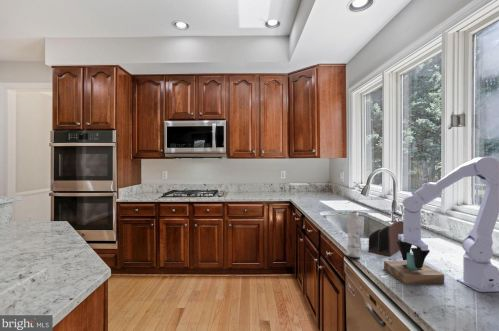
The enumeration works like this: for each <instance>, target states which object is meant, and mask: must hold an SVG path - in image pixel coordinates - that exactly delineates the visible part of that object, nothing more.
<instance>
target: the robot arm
mask: <svg viewBox="0 0 499 331" xmlns="http://www.w3.org/2000/svg"><path fill="white" fill-rule="evenodd" d="M469 177H470V178H471V177H478V178H480V180H481V181H482V182H483V183H484V184H485V186H486V187H485V190H484V194H483V197H482V200H481V202H480V206H479V209H478V211H477V214H476V218H475V221H474V224H473V228H472V229H471V230H470V231H469V232H468V234H467V236H466V237H465V238H464V239H463V240H462V243H461V248H462V249H463V251H464V254H463V258H462V260H463V263H462V264H463V265H462V266H463V269H462V270H463V274H462V276H463V277H462V278H461V277H460V278H456V281H458V282H460V283H461V284H464V285H465V286H468V287H469V288H471V289H473V290H474V291H476V292H479V293H487V292H488V293H491V292H493V293H494V292H499V268H498V267H497V266H495V265H493V264H492V262H491V260H492V259H493V255H494V252H493V243H494V242H493V236H492V235H493V231H494V229H495V227H496V224H497V220H498V218H499V160H498V159H497V158H495V157H493V156H484V157H482V156H481V157H480V156H477V157H473V158H472V159H471V160H470V161H467V162H464V163H463V164H461V165H459V166H457V167H456V168H454V169H453V170H452V171H449V173H448V174H446V175H445V176H443V177H442V178H440V179H439V180H437V181H436V182H430V181H429V182H427V183H426V182H424V183H423V184H422V186H421V187H420V188H418V189H417V190H415V191H411V192H410V193H411V194H409V195H406V196H405V197H404V198H403V200H402V202H401V203H402V206H403V207H404V208H403V219H402V221H403V234H398V239H399V240H400V241H396V243H397V244H398V246H399V248H400V250H399V252H400V254H401V258H402V261H407V253H413V255H414V261H415V267H416V268H422V266H423V263H424V264H425V260H426V258H427V257H428V254H430V249H429V246H428V244H427V243H425V242H424V241H423V240H422V216H421V210H422V209H423V206H426V205H428V204H429V203H431V202H433V201H434V200H436V199H438V198H439V197H441V196H442V194H443V190H446V189H447V188H448V187H450V186H451V185H453V184H455V183H457V182H458V181H460V180H462V179H465V178H469ZM412 246H414V247H412Z"/></svg>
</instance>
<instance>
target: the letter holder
mask: <svg viewBox="0 0 499 331" xmlns="http://www.w3.org/2000/svg"><path fill="white" fill-rule="evenodd" d="M398 234H403V220H399V221H395V222H392V224H389V225H386V226H385V227H383V228H380V229H377V230H375V231H373V232H371V233H370V234H369V236H368V252H369V253H373V254H377V255H381V256H386V257H392V256H393V255H394V254H396V253H397V252H400V248H399V246H398V244H397V243H396V241H400V240H399V239H398Z"/></svg>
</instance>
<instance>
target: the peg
mask: <svg viewBox="0 0 499 331" xmlns="http://www.w3.org/2000/svg"><path fill="white" fill-rule="evenodd" d="M406 261H407V269H408V270H418V268H416V267H415V261H414V255H413V252H410V253H407V260H406Z"/></svg>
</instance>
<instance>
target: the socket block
mask: <svg viewBox="0 0 499 331" xmlns="http://www.w3.org/2000/svg"><path fill="white" fill-rule="evenodd" d="M383 269H384V270H385V271H387V273H389V274H391V275H392V276H393V277H394V278H396V279H398V280H399V281H400V282H401V283H403V284H404V285H419V284H420V285H422V284H423V285H424V284H425V285H427V284H445V274H444V273H443V272H441V271H438V270H436V269H435V268H433V267H430V266H429V265H428V264H426V263H425V262H424V263H423V266H422V268H418V270H408V269H407V260H385V261H384V260H383Z"/></svg>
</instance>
